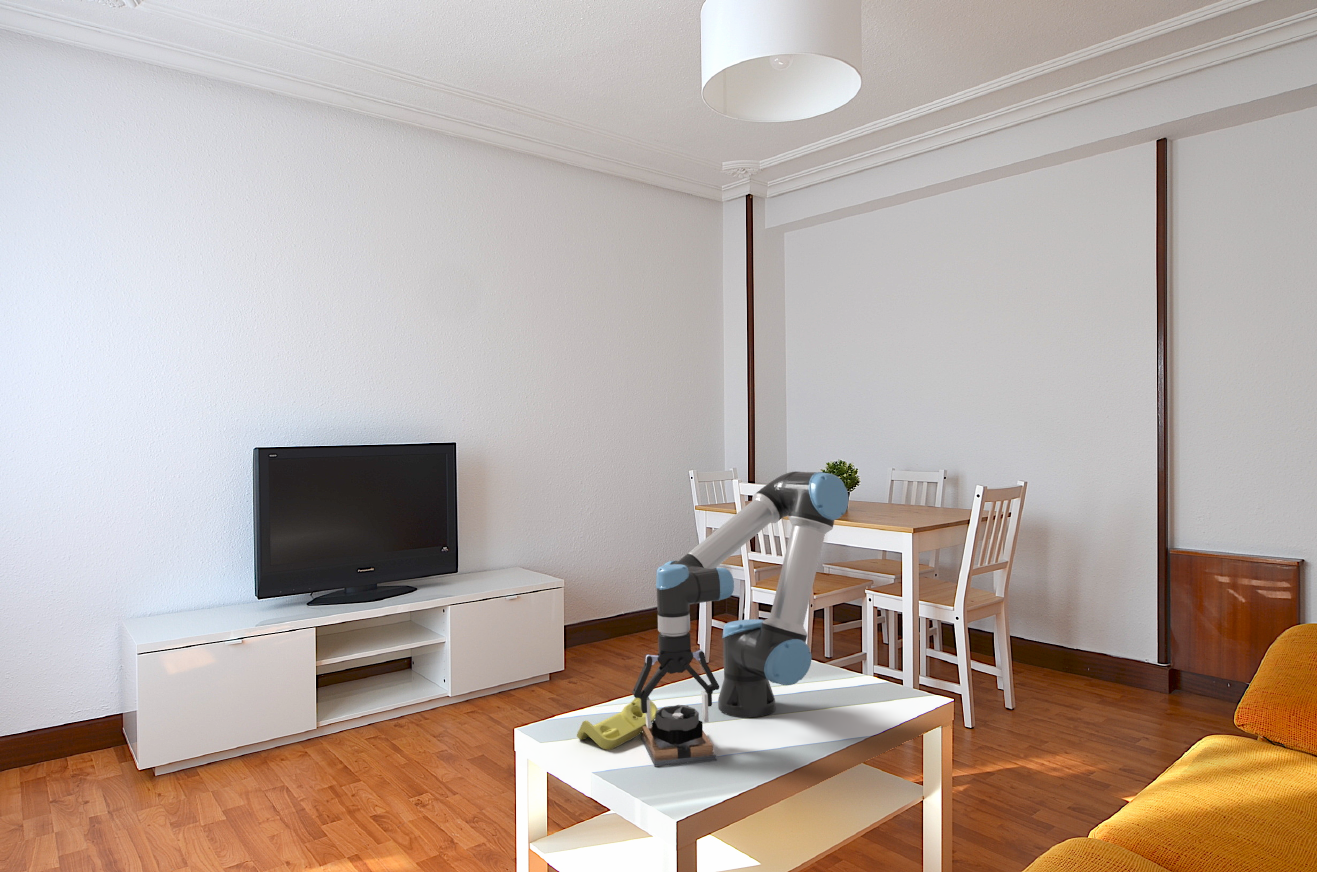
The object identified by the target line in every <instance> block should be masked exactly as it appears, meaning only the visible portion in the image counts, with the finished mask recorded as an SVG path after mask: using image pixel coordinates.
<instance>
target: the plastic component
mask: <svg viewBox="0 0 1317 872" xmlns="http://www.w3.org/2000/svg"><path fill="white" fill-rule="evenodd" d="M656 705H657V704H655V703H654V702H653V701H652V700H651V699H650V706H651V724H652V722H653V720H655V714H656V711H657V710H659V709H658V707H657V706H656ZM642 726H646V713H642V710H641V699H640V698H635V697H634V699H633V700H632V701H630V703H629V704H626V705H625V706H623V709H622V711H619V712H618V713H616V714H614V715H612V716H610V717H609V718H606V719H604V720H602V721H600V722H598V723H596V724H592V723H591V722H590V721H589V720H583V721H582V723H581V725H580V727H579V729H578V731H577V733H576V737H577V739H579V740H581V741H582V740H586V739H588V738H591V739H592V740H593V741H594V743H596V745H598V747H600V748H601V749H603V750H612V749H615V748H618V747H619V746H620V745H622V744H625V743H626V742H628V741H630V740H632V739H634V738H635V737H638V736H640V732H642Z"/></svg>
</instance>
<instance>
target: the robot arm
mask: <svg viewBox="0 0 1317 872" xmlns="http://www.w3.org/2000/svg"><path fill="white" fill-rule="evenodd" d="M848 506H849V493H848V489H847V487H846V486H845V483H844V482H843V480H842V479H841V478H840V477H839V476H838V475H835V474H833V473H830V472H829V473H827V472H823V471H817V472H813V471H812V472H811V471H810V472H809V471H807V472H805V471H789V472H786V473H785V474H781V475H780V476H778V477H776V478H775V479H773V480H772V481H770V482H769V483H767V484H765V486H763V487H762V488H760V489H759V490H757V492H755V493H754V494H753V495H752V498H751V501H750V502H749V503H748V504H747V505H745V506H744V507H743V508H741V509H740V510H739V511H738V512H737V513H736V514H734V515H733V516H732V517H730V518H729V519H728V520H727V521H726V522H724V524H722V525H721V526H720V527H718V528H717V529H716V530H715V531H714V532H712V533H711V534H710V535H708V537H706V538H705V539H703V541H701V542H700V543H699V544H697V545H696V546H695V547H694V548H693V549H692V550H690V551H689V552H687V553H686V554H685V555H684V556H683V557H681V558H680V559H679V560H670V561H667V562H666V563H664V564H663V565H661V566H659V567H658V568H657V570H656V579H655V582H656V583H655V588H656V606H657V607H656V610H657V631H658V632H659V633H658V635H657V637H658V639H657V640H658V653H657V655H655V654H654V655H653V654H649V653H647V654H645V655H644V656H645V657H644V664H643V667H642V669H641V670H640V673H639V675H638V678H637V679H636V682H635V684H634V687H633V689H632V695H633V697H634V699H635V698H640V699H641V710H642V713H646V726H647V728H648V729H649V728H651V726H652V723H651V706H650V700H651V699H650V697H649V696H650V695H651V694H652V692H653V691H654V690H655V688H656V687H657V686H658V684H659V683H660V681H661V680H662V679H663V677H665V675H666V674H669V675H670V674H671V675H672V674H677V673H678V674H681V673H683V672H686V671H687V673H689V674H690V675H691V676H692V677H693V678H694V680H696V682H697V683H698V684H699V686H701V688H702V689H704V690H701V708H702V710H701V713H702V714H701V716H702V720H703V721H704V722H705V723H709V707H712V705H713V693H714V691H718V690H720V692H719V694H718V698H717V704H718V705H717V707H718V710H719V711H720V712H721V713H723V714H724V715H725V714H726V715H729V716H733V717H738V718H757V717H763V716H764V717H765V716H767V715H768V716H769V714H770V715H771V714H772V713H774V712H775V710H776V698H775V695H774V693H773V689H772V687H771V683H772V684H778V685H781V686H792V685H795V684H797V683H798V682H799V681H801V680H803V679H804V678H805V676H806V675H808V674H807V673H808V672H809V670H810V668H811V666H812V665H811V664H812V657H813V656H812V652H811V649H810V647H809V645H808V644H807V639H808V632H807V631H806V629H805V627H804V624H805V620H806V617H807V616H806V615H807V611H808V607H809V604H810V599H811V595H812V591H813V585H814V582H815V577H816V574H817V571H818V570H817V569H818V567H819V566H818V565H819V561H820V557H821V552H822V548H823V544H824V540H825V535H827V533H829V532H830V531H832V530H833V529H834V524H835V520H838V519H840V518H841V517H842V516H844V515H845V514H846V512H847V509H848ZM786 517H787V518H788V519H787V520H789V522H790V524H791V528H790V532H789V533H790V534H789V538H788V541H787V546H786V550H785V554H784V557H783V562H782V566H781V570H780V574H779V578H778V581H777V582H778V583H777V585H776V586H777V587H776V591H775V595H774V599H773V601H772V602H773V603H772V606H771V610H770V616H769V617H768V618H766V619H755V618H754V619H752V618H751V619H739V620H738V619H737V620H734V621H733V620H732V621H728V622H727V623H725V625H724V626H723V630H722V645H723V650H722V651H723V682H722V684H721V689H720V685H719V683H718V681H717V680H716V678H715V676H714V674H713V672H712V670H711V668H710V667H709V665H708V663H707V661H706V656H705V652H704V651H703V650H702V649H701V648H700V649H699V648H698V649H697V651H692V650H691V649H692V645H691V643H692V640H691V632H689V631H691V619H690V618H691V616H690V615H691V614H690V613H691V612H690V605H694V604H702V603H707V602H715V601H716V602H719V601H721V600H726V599H728V598H730V597H732V595H733V594H734V591H735V581H734V576H733V575H732V572H731V571H730V570H729V569H728V568H726V567H719V566H720V565H721V564H723V563H724V562H725V561H726V560H727V559H729V558H730V557H731V556H733V554H735V553H736V552H737V551H738V550H739V549H741V548H742V547H744V546H745V545H746V544H747V543H748V542H750V540H751V539H752V538H754V537H755V536H756V535H757V534H759V533H760V532H762V530H764V529H765V528H766V527H767V526H769V525H770V524H776V523H778V522H779V521H780V520H782V519H783V518H786ZM694 658H695V660H696V662H698V663H699V664H700V666H701V668H702V669H703V671H704V673H705V675H706V678H707V679H708V681H709V683H710V684H708V683H707V682H706V681H705V680H704V679H703V678H702V676H701V675H700V674H699V673H698V672H697V671H695V670H694V668H693V667H692V666H691V665H690V664H691V662H692V661H693V659H694ZM656 662H658V664H659V666H658V667H657V669H656V671H655V673H653V675H652V677H651V678H650V679H649V680H648V682H647V683H646V681H647V679H648V676H649V674H650V672H651V670H652V668H653V667H652V666H654V665H655V663H656ZM683 674H684V673H683ZM770 682H771V683H770ZM645 683H646V685H645Z"/></svg>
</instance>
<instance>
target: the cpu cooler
mask: <svg viewBox="0 0 1317 872" xmlns="http://www.w3.org/2000/svg"><path fill="white" fill-rule="evenodd" d="M699 715H700V713H699V711H698V710H697V709H696V708H694V707H691V706H689V705H687V704H685V705H684V704H676V705H669V706H668V705H667V706H663V707H662V708H659V709H658V710H657V711H656V714H655V719H654V720H653V722H652V723H651V726H652V736H654V737H656V738H658V739H660V740H663V741H665V742H668V743H670V744H672V745H673V744H677V745H679V744H682V743H685V742H688V741H691V740H694V739H697V738H700V737H702V735H703V731H704V730H703V729H704V728H703V725H704V724H703V721H702V720H700V716H699Z"/></svg>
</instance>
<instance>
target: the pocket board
mask: <svg viewBox="0 0 1317 872" xmlns="http://www.w3.org/2000/svg"><path fill="white" fill-rule="evenodd" d="M639 736H640V739H641V741H642V744H643V746H644V748H645V749H646V751H647V754H648V756H649V758H650V760H651V763H652V764H653V766H654V768H656V767H666V766H676V765H685V764H686V765H687V764H695V763H703V762H712V761H713V762H715V761H717V754H716V753H715V751H714V744H713V742H712V741H711V739H710V738H709V737H708V736H707V734H706V732H705V731H704V730H703V735H702V737H700V738H697V739H694V740H691V741H688V742H685V743H682V744H679V745H677V744H673V745H672V744H670V743H668V742H665V741H663V740H660V739H658V738H656V737H654V736H652V725H651V728H649V729H648V728H647V726H642V731H641V732H640V734H639Z"/></svg>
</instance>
